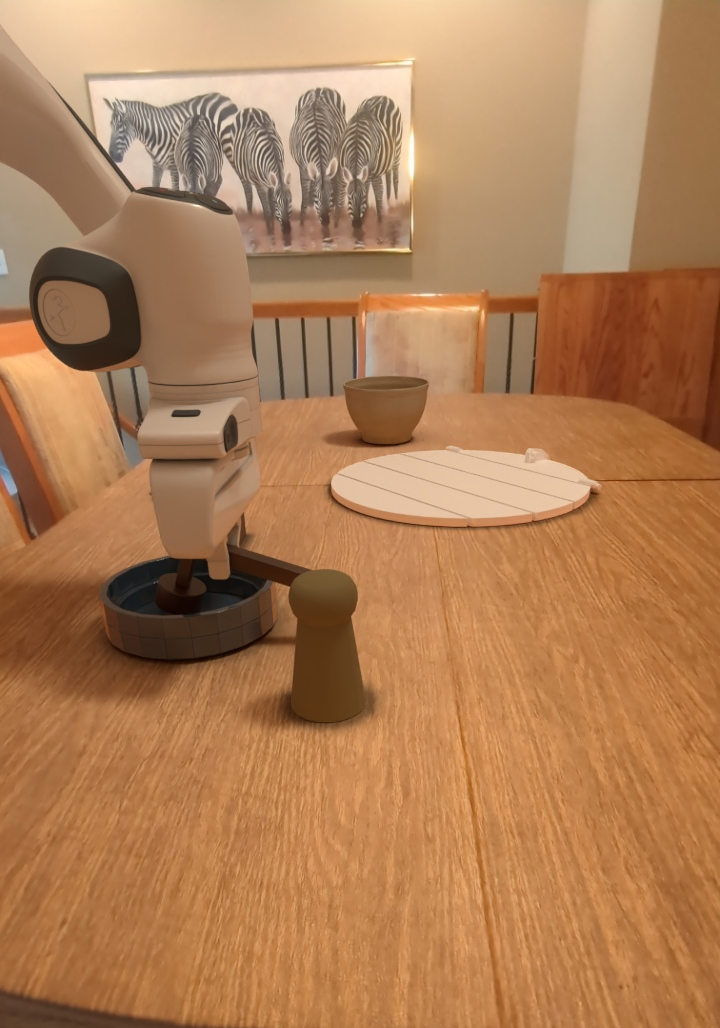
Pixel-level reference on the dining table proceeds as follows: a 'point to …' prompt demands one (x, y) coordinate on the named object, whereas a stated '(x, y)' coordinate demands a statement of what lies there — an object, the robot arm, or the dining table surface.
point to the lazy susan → (462, 487)
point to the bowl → (215, 630)
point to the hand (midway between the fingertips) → (225, 570)
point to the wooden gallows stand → (189, 592)
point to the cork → (325, 647)
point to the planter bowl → (386, 406)
